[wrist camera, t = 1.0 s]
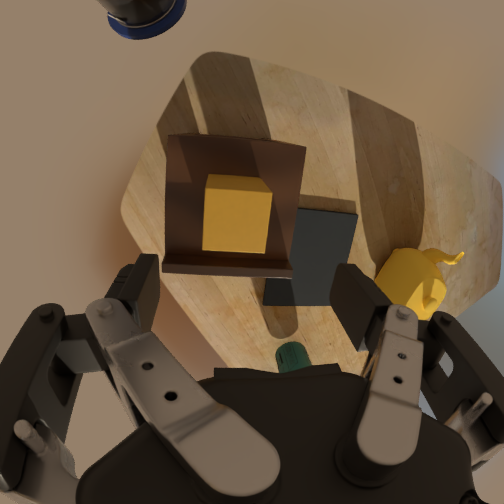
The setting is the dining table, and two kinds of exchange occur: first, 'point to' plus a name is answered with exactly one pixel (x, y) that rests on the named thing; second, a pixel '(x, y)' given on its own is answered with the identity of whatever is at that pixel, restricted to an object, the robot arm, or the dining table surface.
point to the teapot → (415, 279)
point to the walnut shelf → (193, 195)
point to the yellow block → (236, 214)
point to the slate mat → (313, 258)
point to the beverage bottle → (292, 357)
